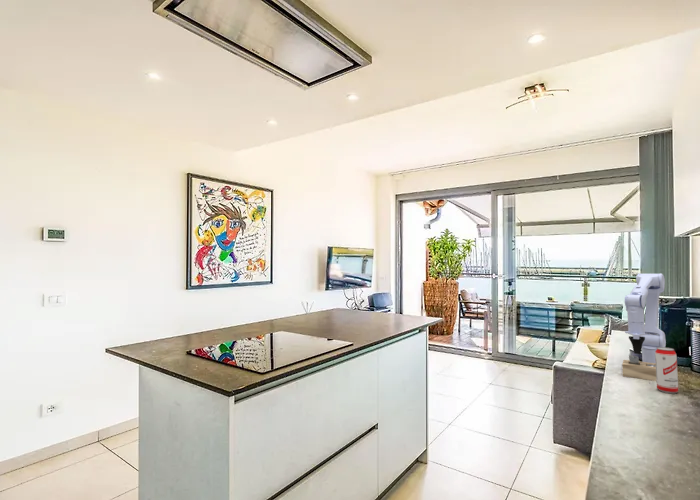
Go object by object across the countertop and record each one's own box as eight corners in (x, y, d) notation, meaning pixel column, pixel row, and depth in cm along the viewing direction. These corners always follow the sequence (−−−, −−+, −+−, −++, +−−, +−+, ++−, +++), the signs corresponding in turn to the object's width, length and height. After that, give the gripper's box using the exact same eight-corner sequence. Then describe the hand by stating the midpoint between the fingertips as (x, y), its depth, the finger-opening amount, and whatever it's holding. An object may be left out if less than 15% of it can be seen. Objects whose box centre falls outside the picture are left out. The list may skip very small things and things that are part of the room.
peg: (630, 365, 166) (629, 355, 167) (639, 366, 164) (638, 356, 165) (629, 367, 164) (629, 356, 164) (638, 368, 162) (638, 357, 162)
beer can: (683, 394, 139) (680, 350, 140) (666, 394, 139) (663, 350, 140) (669, 388, 145) (666, 346, 146) (652, 388, 145) (650, 346, 146)
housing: (624, 370, 171) (623, 359, 171) (661, 375, 163) (660, 363, 163) (622, 376, 162) (622, 364, 162) (661, 381, 154) (661, 369, 154)
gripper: (625, 319, 172) (626, 349, 172) (623, 323, 161) (625, 355, 160) (644, 320, 168) (646, 351, 167) (644, 324, 157) (646, 357, 156)
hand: (637, 353), depth 164 cm, fingers closed
